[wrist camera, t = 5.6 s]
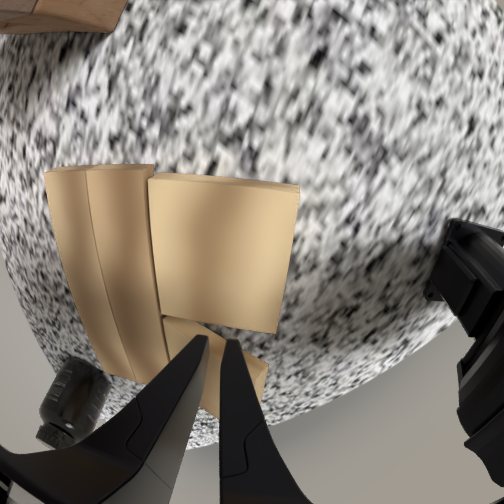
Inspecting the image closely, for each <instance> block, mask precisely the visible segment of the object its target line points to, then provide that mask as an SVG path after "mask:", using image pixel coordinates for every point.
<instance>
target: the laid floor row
mask: <svg viewBox="0 0 504 504" xmlns="http://www.w3.org/2000/svg"><path fill="white" fill-rule="evenodd" d="M153 176H154V164H110V165H83V166H66V167H56V168H54V169H52V170H50V171H47V172H45V173H44V178H45V185H46V192H47V198H48V204H49V210H50V215H51V220H52V225H53V230H54V234H55V238H56V243H57V247H58V250H59V254H60V258H61V262H62V265H63V269H64V272H65V275H66V278H67V282H68V285H69V288H70V291H71V294H72V297H73V300H74V302H75V305H76V308H77V311H78V313H79V316H80V318H81V321H82V324H83V326H84V328H85V331H86V333H87V336H88V338H89V340H90V343H91V345H92V347H93V349H94V351H95V354H96V356H97V358H98V360H99V362H100V364H101V366H102V368H103V370H104V372H106V373H109V374H112V375H115V376H118V377H122V378H125V379H129V380H132V381H136V382H140V383H143V384H148V383H149V382H150V381H151V380H152V379H153V378H154V377H155V376H156V375H157V374H158V373H159V372H160V371H161V370H162V369H163V368H164V367H165V366H166V365H167V364H168V363H169V362H170V361H171V360H170V355H169V351H168V346H167V341H166V335H165V330H164V324H163V318H165V317H166V316H167V315H164V314H162V313H161V306H160V300H159V293H158V286H157V279H156V271H155V263H154V255H153V245H152V235H151V223H150V210H149V193H148V179H149V178H151V177H153Z"/></svg>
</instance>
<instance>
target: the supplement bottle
mask: <svg viewBox="0 0 504 504" xmlns="http://www.w3.org/2000/svg"><path fill="white" fill-rule="evenodd" d="M110 388H111V387H110V383H109V381H108V379H107V378H106V376H105V375H104V374H103V373H102V372H101V371H100V370H98V369H97V368H96V367H94V366H93V365H91V364H90V363H88V362H86V361H84V360H81V359H78V358H69V359H67V360H66V361H65V362H64V364H63V366H62V367H61V369H60V371H59V372H58V374H57V376H56V378H55V380H54V381H53V383H52V385H51V387H50V389H49V391H48V393H47V394H46V396H45V398H44V400H43V402H42V404H41V406H40V409H39V414H40V417H41V419H42V420H43V422H44V424H43V426H41V425H40V427H39V430H38V433H37V435H36V439H37V440H38V441H40V442H41V443H42V444H44V445H45V446H47V447H48V448H50V449H51V450H55V449H60V448H65V447H69V446H72V445H74V444H76V443H78V442H80V441H81V440H83V439H84V438H85V437H87V436H88V435H90V434H91V433H92V432H93V430H94V428H95V426H96V423H97V420H98V418H99V416H100V413H101V411H102V408H103V406H104V404H105V401H106V399H107V397H108V394H109V392H110Z"/></svg>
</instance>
